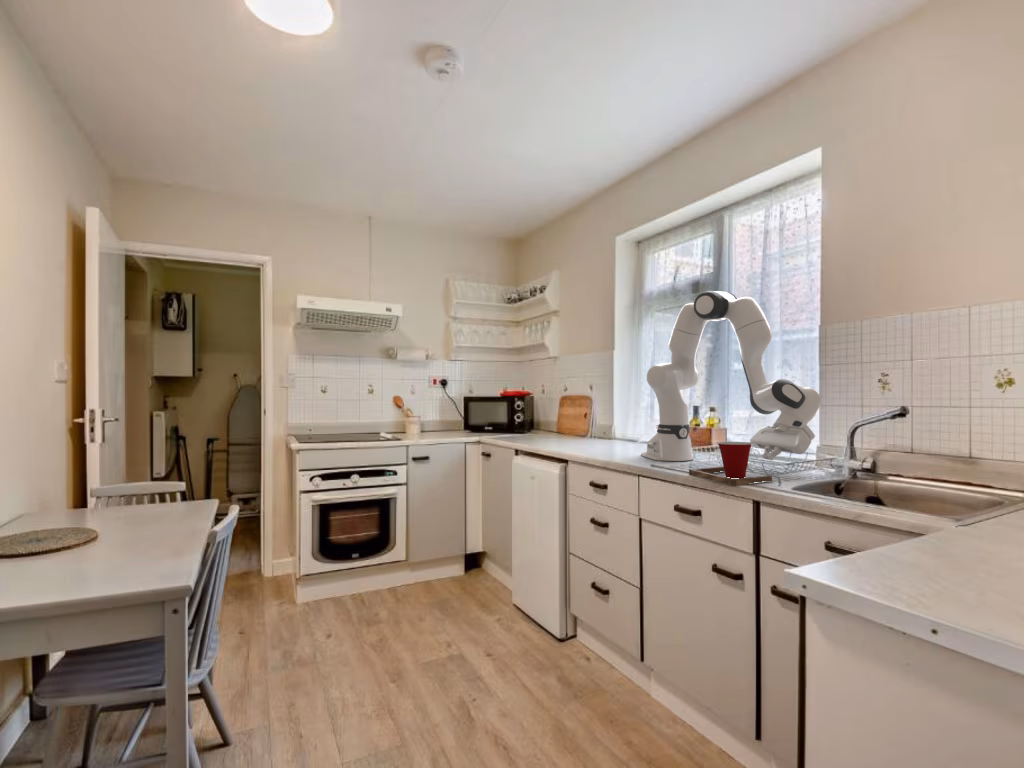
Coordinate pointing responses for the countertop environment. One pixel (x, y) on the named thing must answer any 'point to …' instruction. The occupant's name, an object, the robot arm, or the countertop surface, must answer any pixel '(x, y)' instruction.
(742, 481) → the tray
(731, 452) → the plastic cup
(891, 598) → the countertop surface
